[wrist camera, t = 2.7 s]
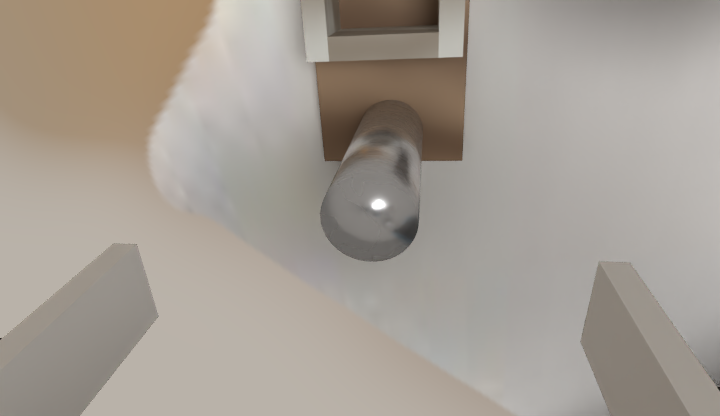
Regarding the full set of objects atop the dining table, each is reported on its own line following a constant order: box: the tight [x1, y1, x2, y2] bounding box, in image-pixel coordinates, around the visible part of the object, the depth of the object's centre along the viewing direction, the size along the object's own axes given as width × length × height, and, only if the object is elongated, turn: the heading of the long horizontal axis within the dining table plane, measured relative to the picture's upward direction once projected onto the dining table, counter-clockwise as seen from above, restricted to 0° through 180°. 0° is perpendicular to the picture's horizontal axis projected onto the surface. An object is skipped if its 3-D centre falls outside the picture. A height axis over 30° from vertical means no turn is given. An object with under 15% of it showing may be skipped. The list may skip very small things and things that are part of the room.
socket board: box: [300, 0, 470, 161], centre depth 26 cm, size 15×9×5 cm, turn 3°
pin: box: [320, 100, 423, 261], centre depth 24 cm, size 4×4×12 cm
